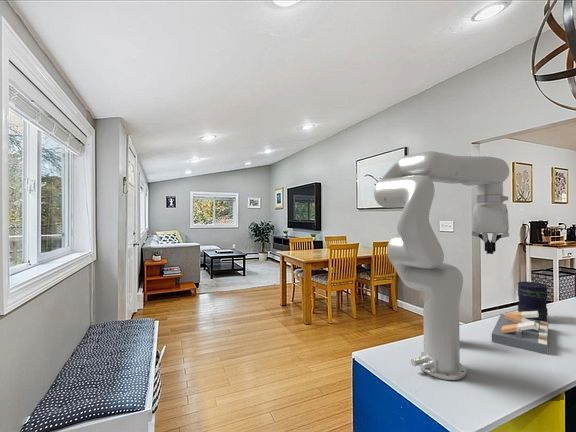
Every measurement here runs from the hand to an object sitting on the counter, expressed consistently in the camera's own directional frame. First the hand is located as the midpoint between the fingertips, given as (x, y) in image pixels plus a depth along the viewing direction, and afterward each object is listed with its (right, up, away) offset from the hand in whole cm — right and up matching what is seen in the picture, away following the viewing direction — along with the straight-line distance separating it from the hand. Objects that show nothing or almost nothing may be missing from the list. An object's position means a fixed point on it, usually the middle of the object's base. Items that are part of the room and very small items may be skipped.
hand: (490, 253), depth 103 cm
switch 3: (+12, -27, +2) cm, 29 cm away
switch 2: (+17, -27, +8) cm, 33 cm away
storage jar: (+35, -31, +24) cm, 53 cm away
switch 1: (+22, -26, +14) cm, 37 cm away
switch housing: (+17, -32, +8) cm, 37 cm away
